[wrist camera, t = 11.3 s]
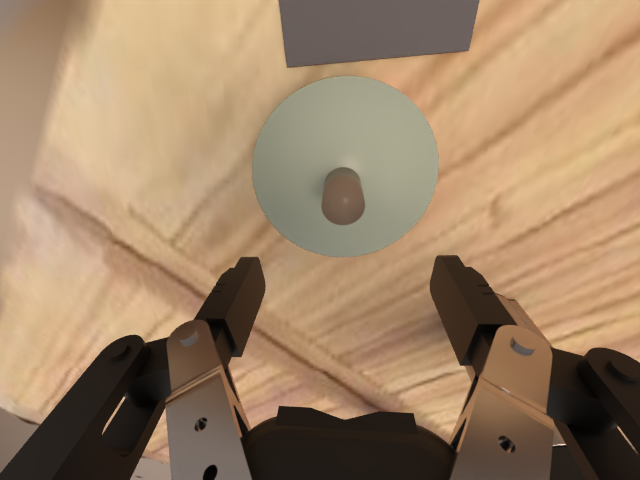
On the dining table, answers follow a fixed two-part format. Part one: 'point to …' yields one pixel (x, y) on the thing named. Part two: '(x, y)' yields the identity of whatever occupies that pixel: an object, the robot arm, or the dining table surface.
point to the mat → (373, 29)
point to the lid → (345, 166)
